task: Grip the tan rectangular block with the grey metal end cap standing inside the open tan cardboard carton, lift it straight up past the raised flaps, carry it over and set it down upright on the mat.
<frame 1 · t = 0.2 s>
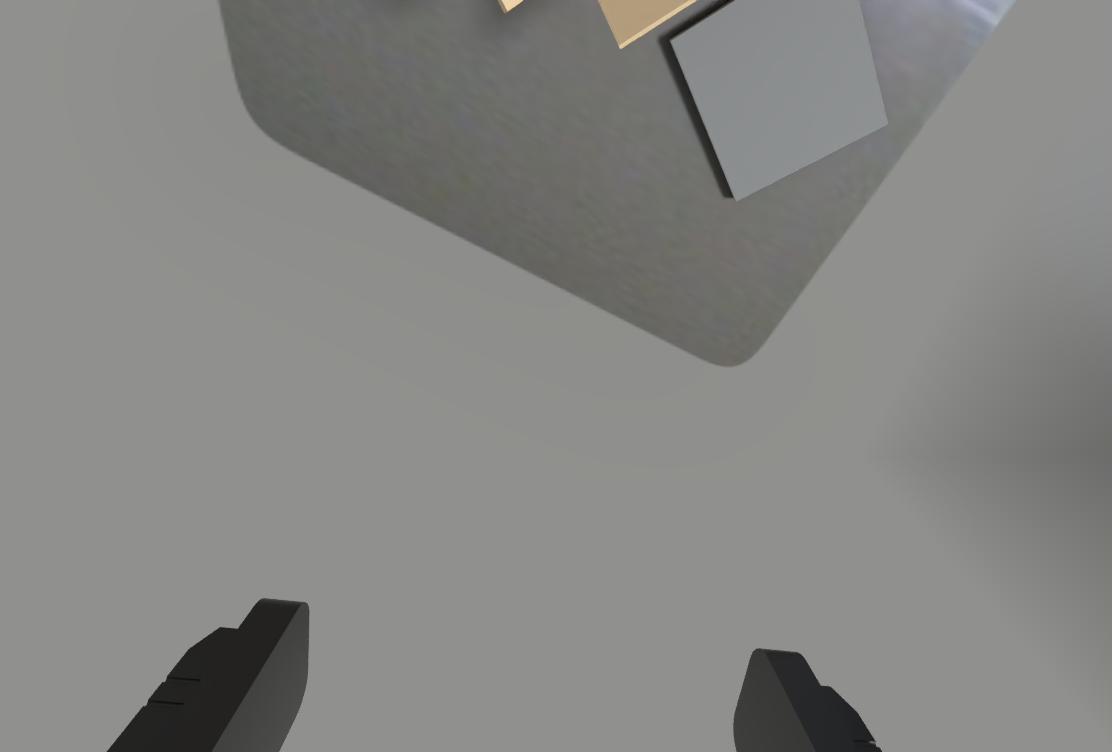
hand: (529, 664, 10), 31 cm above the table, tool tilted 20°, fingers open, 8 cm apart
mat: (779, 82, 32), on the table
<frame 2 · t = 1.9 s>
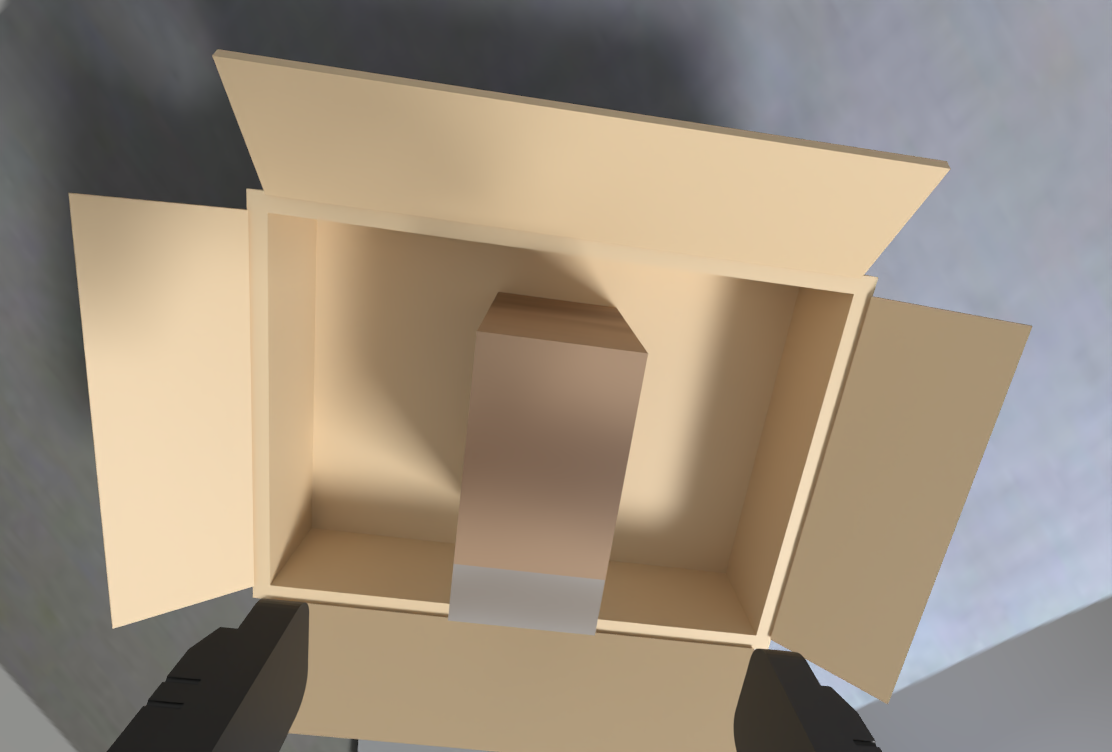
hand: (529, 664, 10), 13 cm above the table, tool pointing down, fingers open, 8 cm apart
carton: (542, 409, 23), on the table
tan rectangular block: (542, 410, 23), resting on carton
mat: (456, 730, 28), on the table
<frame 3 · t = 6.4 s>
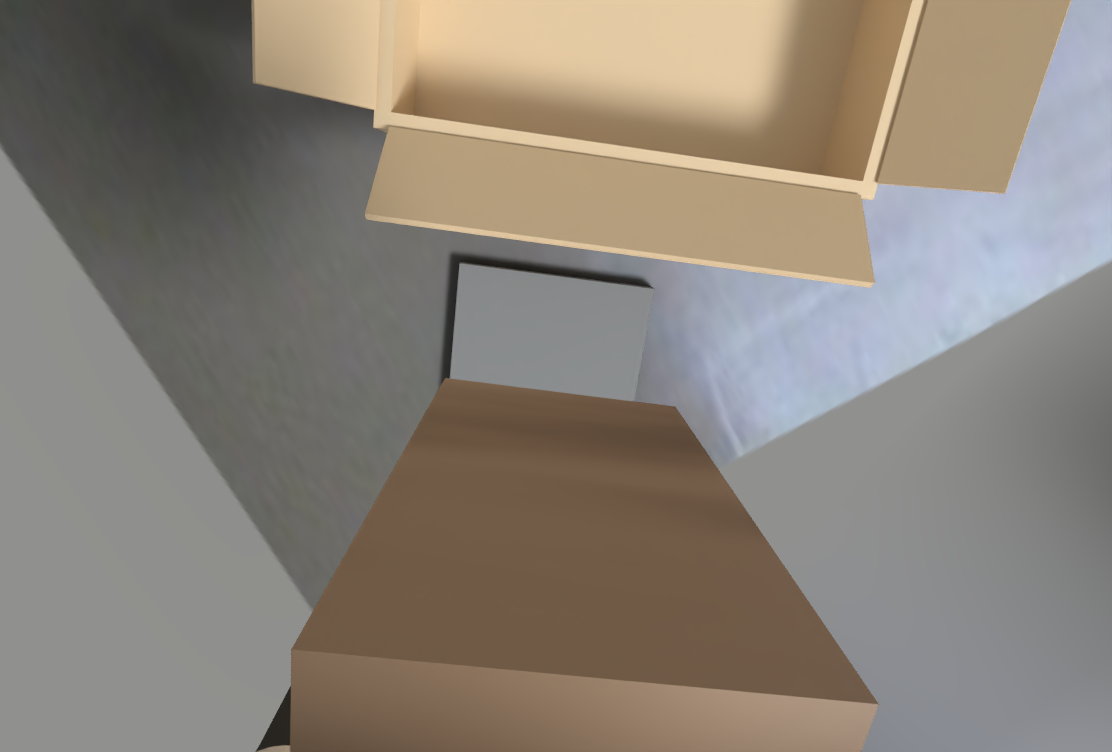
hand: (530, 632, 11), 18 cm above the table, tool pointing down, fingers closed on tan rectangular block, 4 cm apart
tan rectangular block: (532, 589, 12), point 16 cm above the table, touching gripper
mat: (544, 376, 28), on the table
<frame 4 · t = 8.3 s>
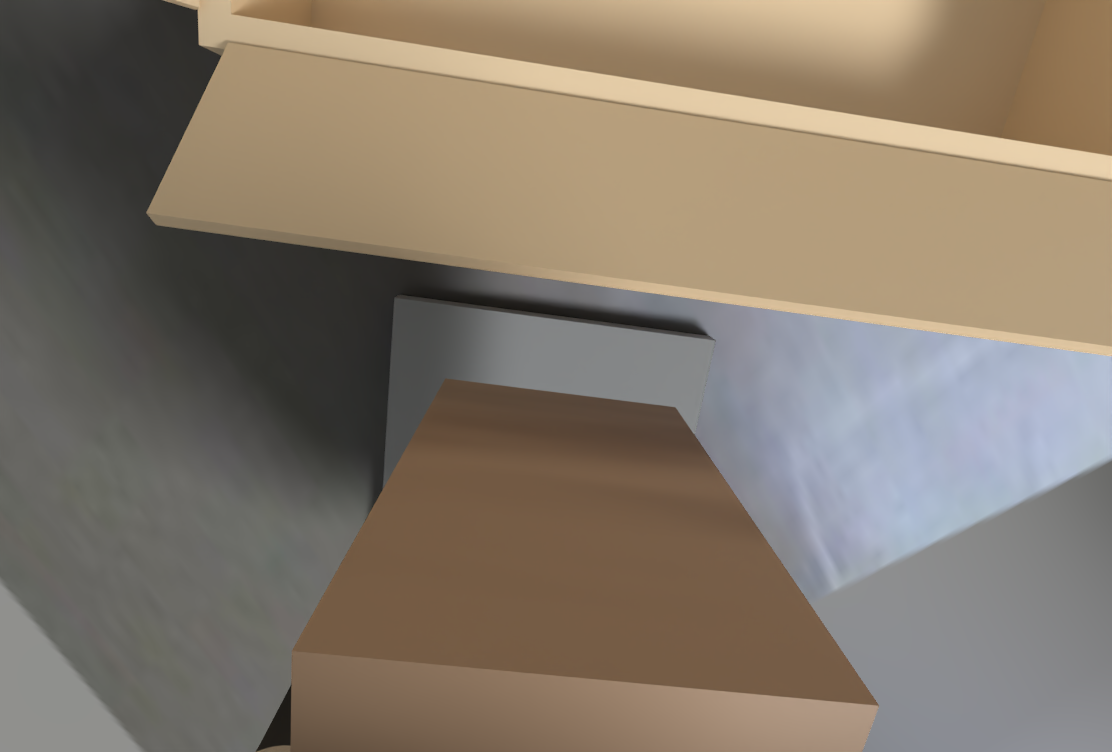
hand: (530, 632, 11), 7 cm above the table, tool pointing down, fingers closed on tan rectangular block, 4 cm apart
tan rectangular block: (532, 590, 12), point 6 cm above the table, touching gripper
mat: (535, 473, 18), on the table
when the fingers open (3 cm above the table, at t = 9.6 s): tan rectangular block stays where it is, resting on mat.
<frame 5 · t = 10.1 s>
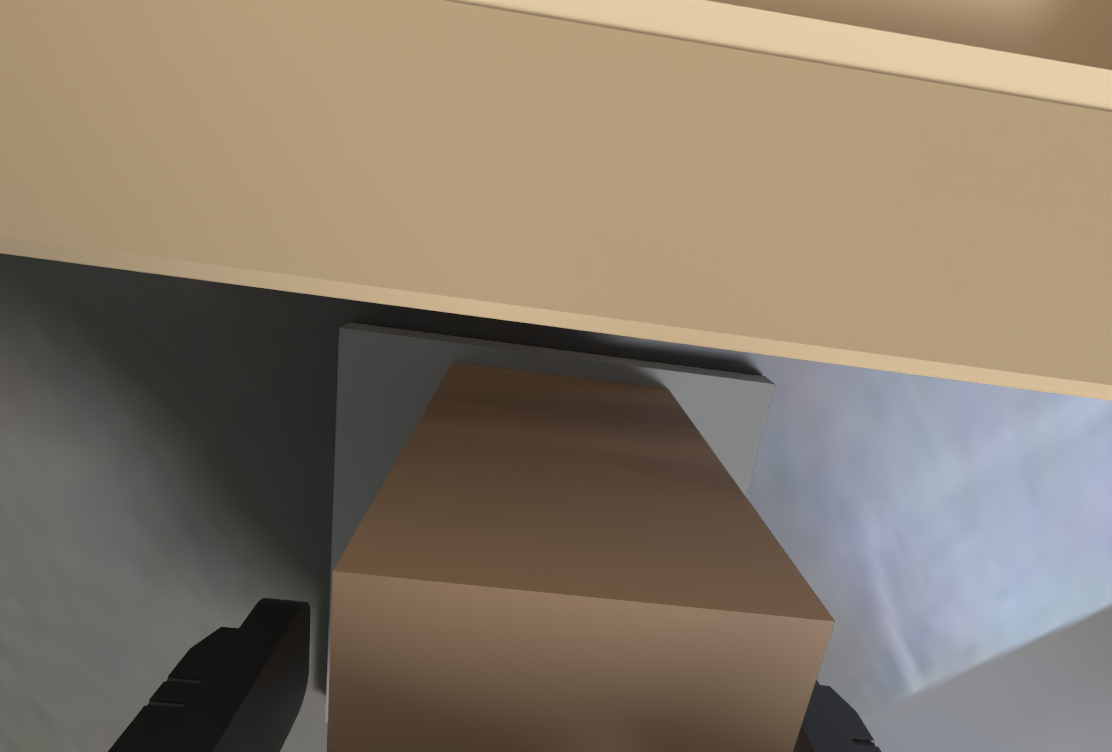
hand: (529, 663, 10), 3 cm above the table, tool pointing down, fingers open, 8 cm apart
tan rectangular block: (534, 563, 13), point 1 cm above the table, touching mat
mat: (531, 551, 14), on the table
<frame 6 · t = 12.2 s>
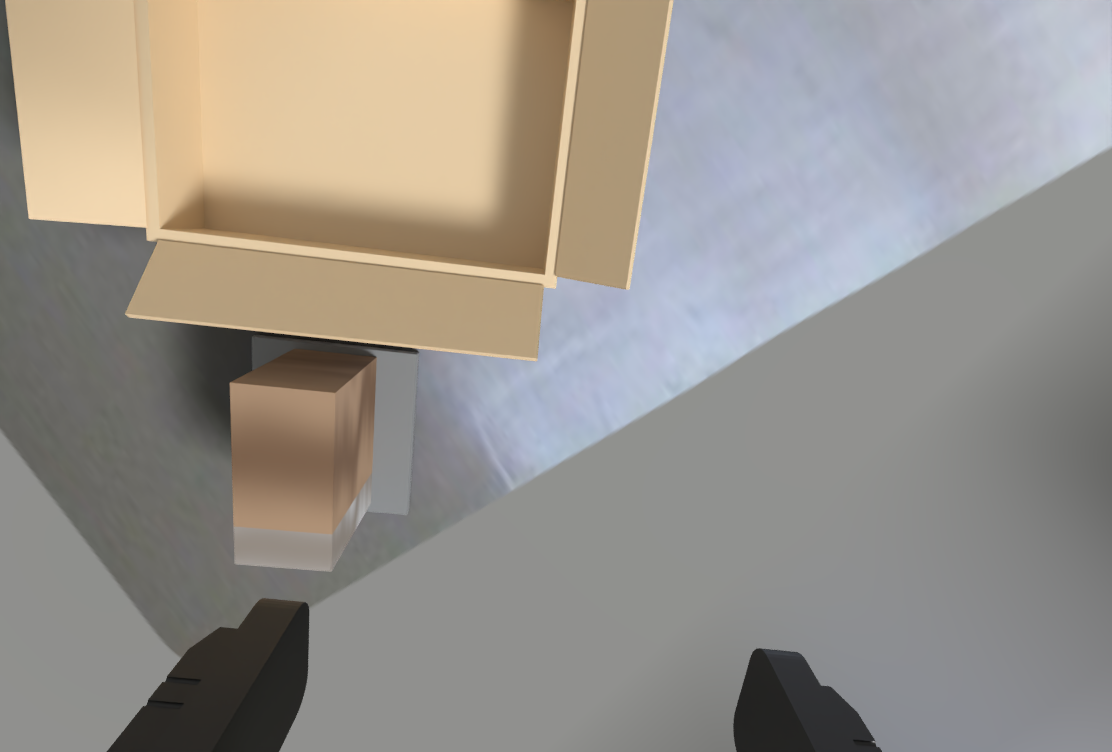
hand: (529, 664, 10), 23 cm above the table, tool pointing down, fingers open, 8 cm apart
carton: (383, 120, 29), on the table
tan rectangular block: (334, 428, 33), point 1 cm above the table, touching mat
mat: (336, 426, 33), on the table
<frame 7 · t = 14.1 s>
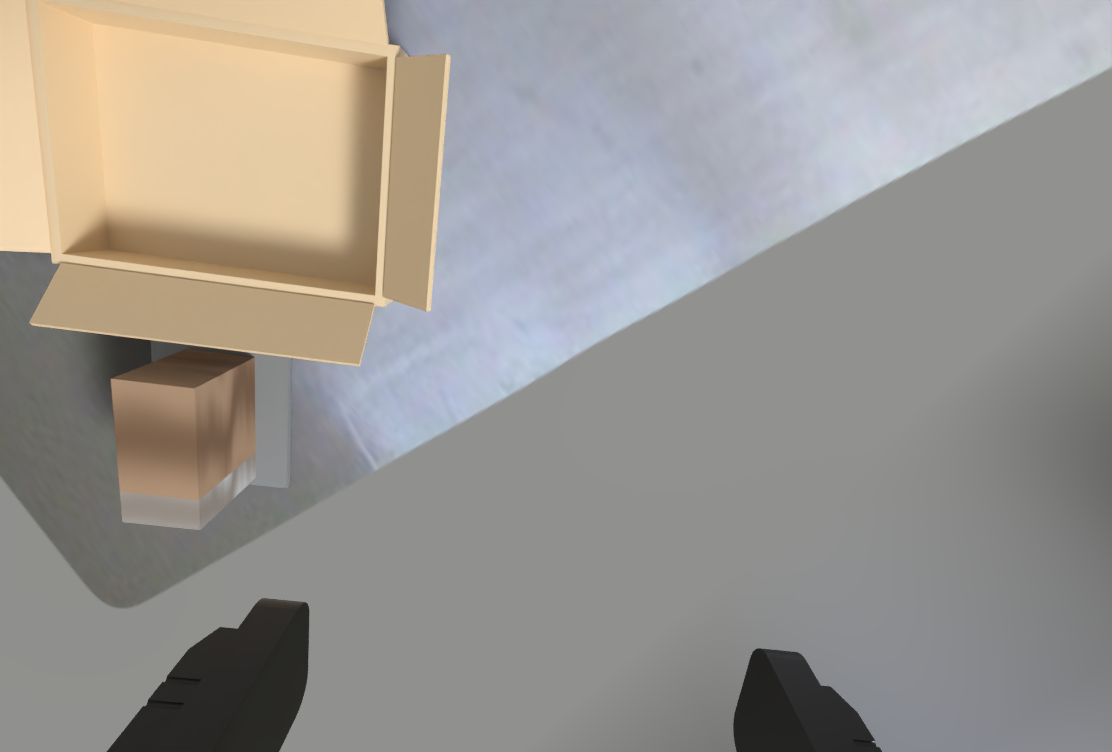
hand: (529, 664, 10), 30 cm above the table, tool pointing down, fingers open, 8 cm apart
carton: (253, 164, 36), on the table
tan rectangular block: (222, 415, 40), point 1 cm above the table, touching mat
mat: (225, 413, 40), on the table
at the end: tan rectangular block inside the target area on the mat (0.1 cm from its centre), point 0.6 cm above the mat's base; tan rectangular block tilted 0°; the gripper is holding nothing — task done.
